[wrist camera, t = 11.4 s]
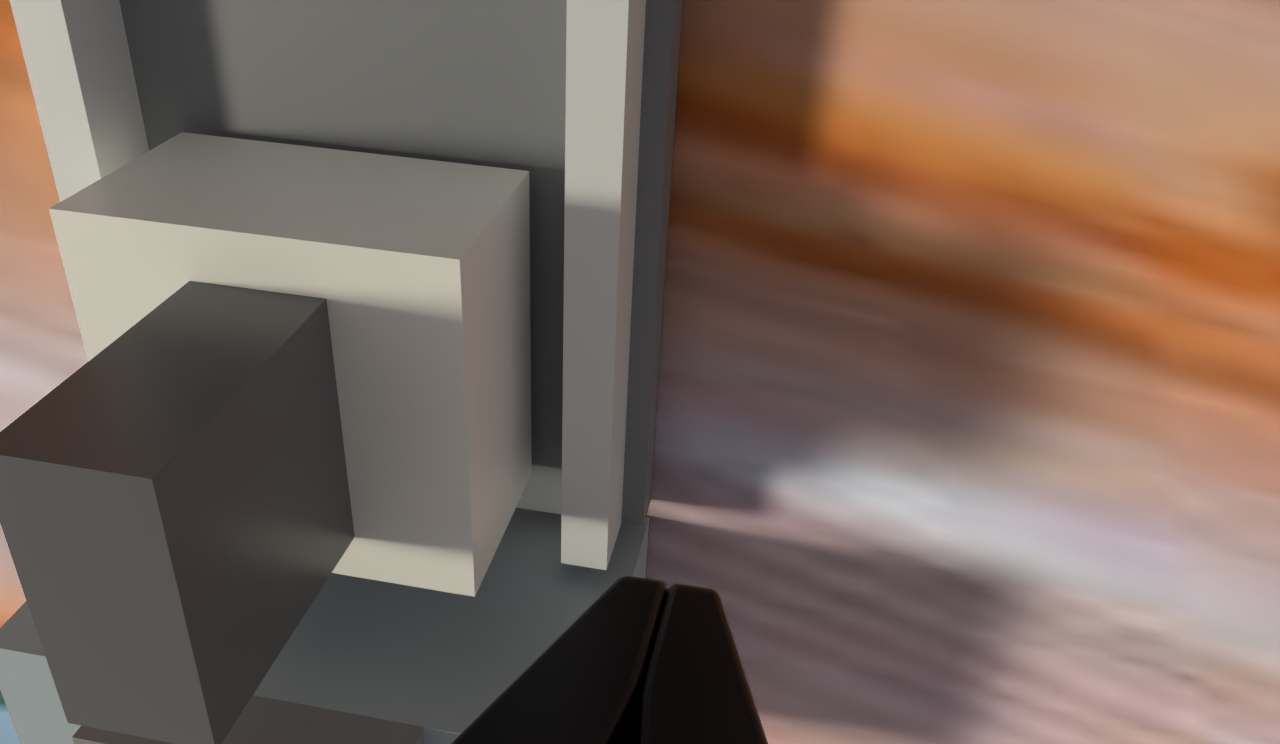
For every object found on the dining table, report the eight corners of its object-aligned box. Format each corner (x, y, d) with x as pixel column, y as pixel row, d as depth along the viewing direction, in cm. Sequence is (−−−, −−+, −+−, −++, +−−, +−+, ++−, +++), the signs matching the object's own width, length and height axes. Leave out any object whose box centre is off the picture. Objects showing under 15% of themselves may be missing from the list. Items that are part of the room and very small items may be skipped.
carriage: (529, 170, 20) (318, 438, 12) (531, 473, 24) (370, 824, 16) (181, 132, 21) (-213, 359, 13) (235, 428, 25) (-51, 740, 17)
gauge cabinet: (662, 519, 25) (577, 835, 18) (649, 697, 28) (572, 1028, 21) (179, 444, 27) (-78, 707, 20) (217, 620, 30) (7, 903, 23)
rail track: (725, -657, 15) (689, -753, 12) (650, 500, 25) (622, 599, 22) (-60, -662, 16) (-260, -747, 13) (175, 428, 27) (91, 512, 24)
